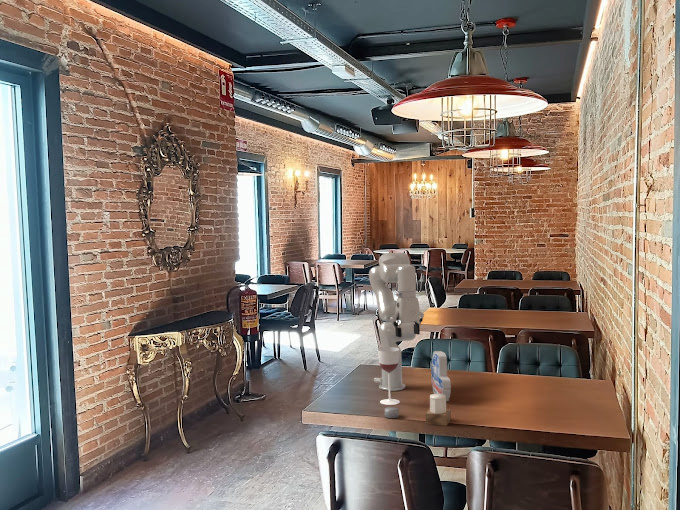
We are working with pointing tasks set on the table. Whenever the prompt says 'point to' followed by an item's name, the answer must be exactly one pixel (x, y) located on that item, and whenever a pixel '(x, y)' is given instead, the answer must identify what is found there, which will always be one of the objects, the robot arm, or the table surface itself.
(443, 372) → the decorative sign
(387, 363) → the wineglass
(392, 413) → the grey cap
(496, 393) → the table surface
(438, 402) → the cream cap
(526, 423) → the table surface
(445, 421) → the post base
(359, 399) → the table surface
